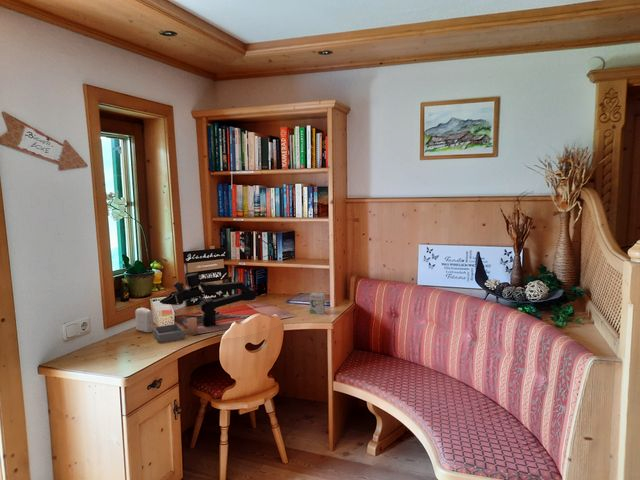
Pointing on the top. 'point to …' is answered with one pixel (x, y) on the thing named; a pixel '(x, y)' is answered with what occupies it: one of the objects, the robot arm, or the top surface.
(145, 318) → the photo printer
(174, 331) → the bin
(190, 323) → the terracotta cylinder
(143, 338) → the top surface
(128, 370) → the top surface
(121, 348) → the top surface
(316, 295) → the ink box
